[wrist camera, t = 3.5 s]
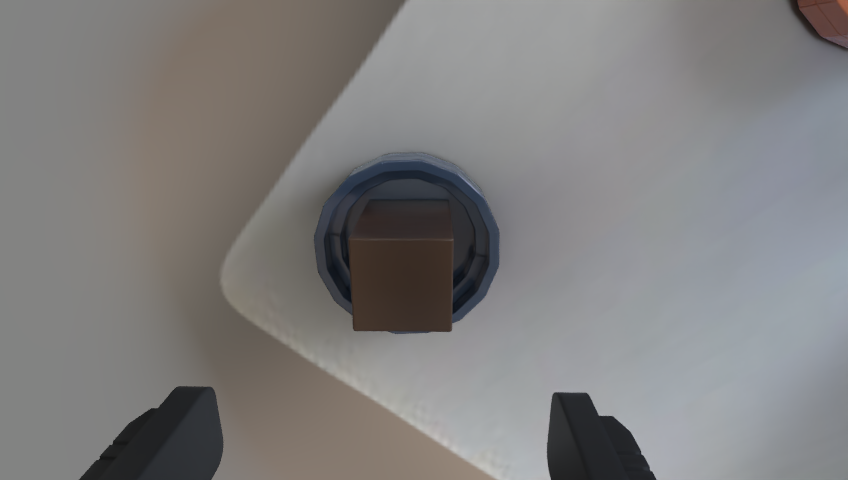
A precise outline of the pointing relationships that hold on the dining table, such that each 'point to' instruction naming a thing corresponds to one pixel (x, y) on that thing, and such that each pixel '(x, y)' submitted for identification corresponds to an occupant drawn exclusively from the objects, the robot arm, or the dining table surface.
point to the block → (402, 266)
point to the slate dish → (412, 182)
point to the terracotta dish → (828, 18)
